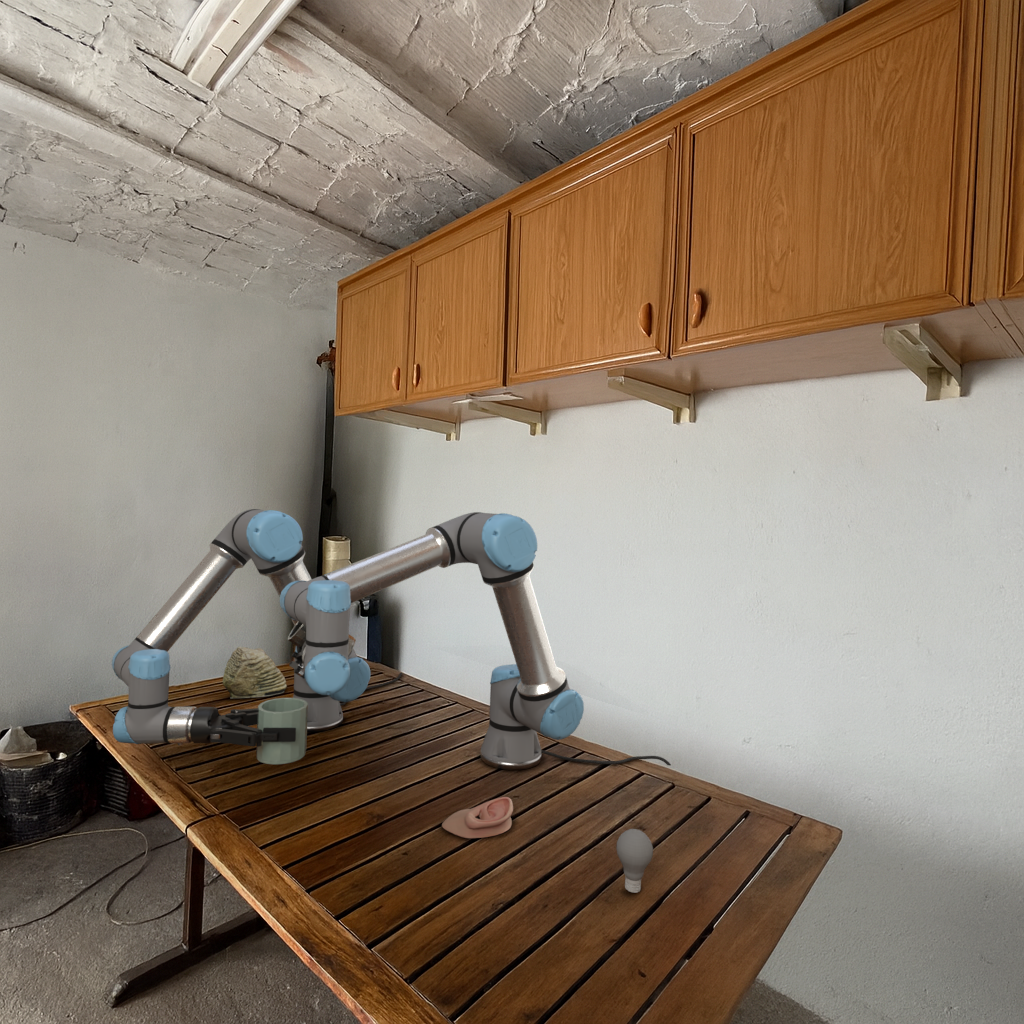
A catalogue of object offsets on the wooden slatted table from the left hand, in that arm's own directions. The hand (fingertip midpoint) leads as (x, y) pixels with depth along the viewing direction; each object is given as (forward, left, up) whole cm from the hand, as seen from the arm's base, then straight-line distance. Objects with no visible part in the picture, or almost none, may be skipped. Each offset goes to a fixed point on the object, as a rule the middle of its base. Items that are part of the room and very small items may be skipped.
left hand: (301, 725), depth 139 cm
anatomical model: (-14, +41, -13) cm, 45 cm away
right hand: (-5, -4, +20) cm, 21 cm away
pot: (+3, -3, -6) cm, 8 cm away
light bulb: (-16, +74, -13) cm, 76 cm away
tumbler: (-8, +3, +15) cm, 17 cm away
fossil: (-25, -63, -13) cm, 69 cm away
